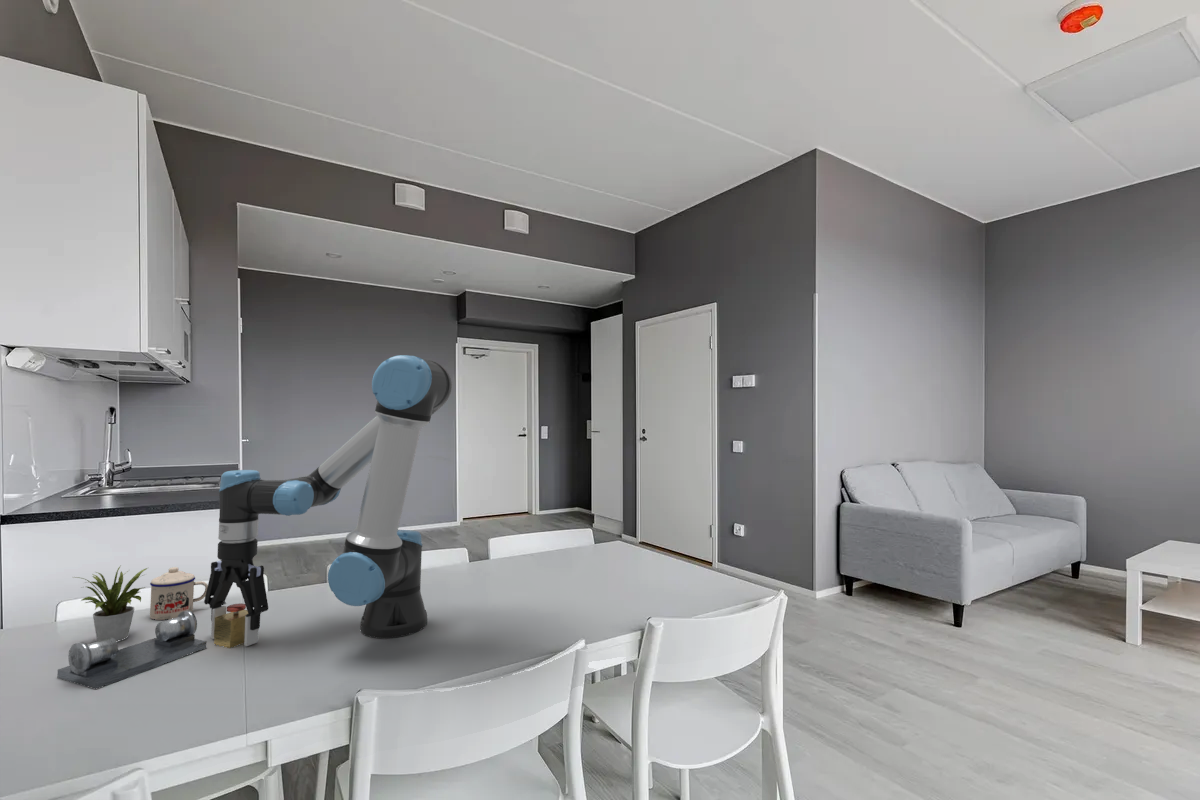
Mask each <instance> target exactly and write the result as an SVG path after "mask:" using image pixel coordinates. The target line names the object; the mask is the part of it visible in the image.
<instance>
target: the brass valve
mask: <svg viewBox="0 0 1200 800" xmlns="http://www.w3.org/2000/svg"><path fill="white" fill-rule="evenodd" d="M227 612H228V613H227ZM247 614H248V611H247V608H246V605H245V603H235V604H234V603H233V604H230V605H228V606H227V605H226V614H224V615H221V616H218V617H215V630H214V639H213V645H214V644H216V645H215V646H217V645H219V646H218V647H221V646H224V647H223V648H225V647H227V648H226V649H232V648H234V646H235V647H237V645H238V646H240V645H242V643H243V644H244V639H245V615H247ZM239 644H240V645H239ZM231 647H232V648H231Z"/></svg>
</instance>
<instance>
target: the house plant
mask: <svg viewBox="0 0 1200 800" xmlns="http://www.w3.org/2000/svg"><path fill="white" fill-rule="evenodd" d="M120 568H121V566H119V567H118V568H117V570H116V571H115V576H114V579H113V583H112V585H111V588H108V584H107V581H106V579H105V576H104V575H103V574H102V573H100V572H97V571H95V573H96V574H98V575H100V577H101V578H100V577H99V576H98V575H95V574H93V573H92V575H91V576H92V578H93V579H94V580H95V581H90V580H88V579H86V578H83V577H77V576H76V577H75V576H73V579H74V578H77V579H83V580H85V582H84V584H86V583H90V584H91V585H92V586H93V587H91V586H86V588H87V589H90V590H91V591H92V592H93V593H94V594H95V595H96V596H97V598H96V597H94V596H86V597H83V598H82V599H81V600H80V602H82V601H85V602H84V604H89V603H93V604H95V609H94V611H95V612H94V613H93V614H92V618H93V623H94V630H95V637H96V642H97V641H101V640H104V639H107V638H110V637H112V638H114V639H115V640H116V641H118V640H122V639H124V638H126V637H127V636H128V637H129V633H130V630H131V629H130V628H131V627H132V626H131V625H132V620H133V616H134V613H135V607H134V606H130V605H132V603H131V602H132V598H134V599H136V600H138V601H139V602H140V603H141V601H142V596H140V595H137V594H139V593H140V590H141V589H146V586H144V587H139V588H135V587H134V588H132V589H130V588H131V587H132V586H133V584H134V583H135V582H136V581H137V580H139V578H141V577H142V576H145V575H147V573H146V574H143V573H144V571H146V570H147V569H148V567H146V568H143V569H141V570H140V571H139V572H137V573H136V574H135V575H134V576H133V577H132V578H131V579H130V580H128V582H127V583H126V584H125V586H124V588H123V590H122V586H123V582H124V573H123V571H122V570H120ZM119 570H120V574H119V573H118V572H119ZM128 572H129V570H127V571H125V574H127V573H128ZM118 574H119V577H118ZM142 574H143V575H142ZM117 578H118V581H117ZM95 585H96V586H97V587H98V588H99V589H100V590H99V589H98V588H97V587H96V586H95ZM80 588H83V586H82V587H80ZM129 589H130V590H129ZM121 590H122V592H121ZM100 594H101V595H100ZM104 600H105V601H104ZM128 604H129V606H128ZM98 608H100V610H97V609H98ZM96 610H97V611H96ZM126 639H127V638H126ZM122 641H123V640H122Z"/></svg>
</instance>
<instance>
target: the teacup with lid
mask: <svg viewBox="0 0 1200 800" xmlns="http://www.w3.org/2000/svg"><path fill="white" fill-rule="evenodd" d="M195 580H196V577H195V574H193V573H190V572H189V573H188V572H184V571H183V570H179V567H177V566H174V567H173V566H172V567H170V568H169V569H168V571H167V572H164V573H163V574H161V575H159V576H157V577H154V578H153V579H152V580H151V581H150V583H149V585H150V586H151V587H150V607H149V608H150V609H149V617H150V619H151V620H154V619H155V621H166V620H165V619H168V620H170V619H172V618H176V617H178V615H179V614H180V613H181V612H183V611H187V610H189V611H191V612H193V611H194V603H196V602H200V601H202V600H203V599H205V596H206V591H207V587H208V583H206V582H205V581H201V580H200V581H195ZM198 585H199V586H200V585H201V586H203V587H204V592H203V594H202V595H200V596H199V597H197V598H194V595H195V594H194V592H195V591H194V589H195V588H194V586H198Z"/></svg>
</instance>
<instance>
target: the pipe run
mask: <svg viewBox="0 0 1200 800" xmlns="http://www.w3.org/2000/svg"><path fill="white" fill-rule="evenodd" d="M197 628H198V620H197V617H196V615H195V614H194V612H193V611H192V612H191V611H189V610H187V611H183V612H181V613H180V614H179V615H178V617H176V618H173V619H168V620H162V621H160V622H158V623H157V624H156V626H155V629H154V630H155V637H153V638H151V639H148V640H145V641H141V642H138V643H136V644H131V645H129V646H126V647H123V648H120V649H119V646H118V642H116V640H115V639H114V638H112V637H110V638H107V639H104V640H101V641H97V640H96V641H94V642H92V643H88V644H87V643H86V642H84V641H79V642H75V643H73V644H72V645H71V646H70V649H69V651H68V664H69V665H67V666H65V667H61V668H58V669H57V679H60V680H64V679H65V681H67V680H68V681H67V682H70V681H71V683H74V682H75V683H74V684H77V683H78V685H80V684H82V685H81V686H83V685H85V687H87V686H89V687H88V688H90V687H92V688H91V689H93V688H95V689H94V690H97V689H96V688H98V689H100V688H103V687H105V686H104V685H106V686H109V685H111V684H113V682H114V683H116V681H117V682H119V681H121V680H125V679H127V678H130V677H132V676H136V675H138V674H141V673H144V672H147V671H149V670H151V669H155V668H157V667H160V666H162V664H163V665H165V664H168V663H171V662H173V661H172V660H174V661H176V660H179V659H181V658H180V657H182V656H184V657H186V656H185V655H187V654H190V653H192V652H195V651H198V650H201V651H203V650H205V649H204V648H206V649H207V640H202V639H197V638H195V634H196V632H197V630H198V629H197ZM202 649H203V650H202ZM198 652H199V651H198ZM195 653H196V652H195ZM190 655H191V654H190ZM187 656H188V655H187ZM178 658H179V659H178ZM182 658H183V657H182ZM175 659H176V660H175ZM170 661H171V662H170ZM167 662H168V663H167ZM164 663H165V664H164ZM108 684H109V685H108ZM102 686H103V687H102ZM99 687H100V688H99Z"/></svg>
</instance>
